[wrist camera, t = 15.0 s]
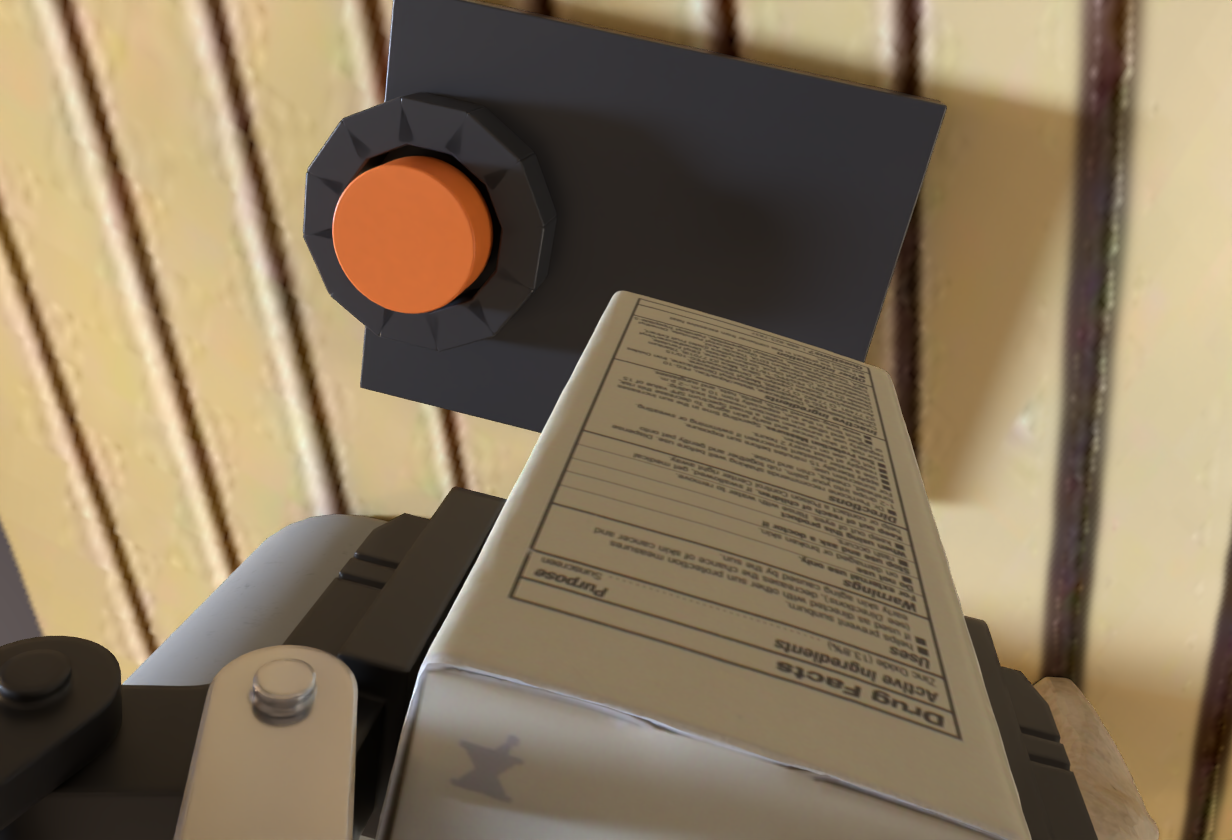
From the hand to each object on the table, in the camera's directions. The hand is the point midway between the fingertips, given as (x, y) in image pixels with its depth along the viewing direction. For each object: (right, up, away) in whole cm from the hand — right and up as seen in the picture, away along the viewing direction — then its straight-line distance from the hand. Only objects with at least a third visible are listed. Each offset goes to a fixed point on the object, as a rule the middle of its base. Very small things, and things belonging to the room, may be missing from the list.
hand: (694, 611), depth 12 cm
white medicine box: (+1, +2, +5) cm, 6 cm away
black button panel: (-1, +7, +17) cm, 18 cm away
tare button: (-6, +8, +15) cm, 18 cm away
